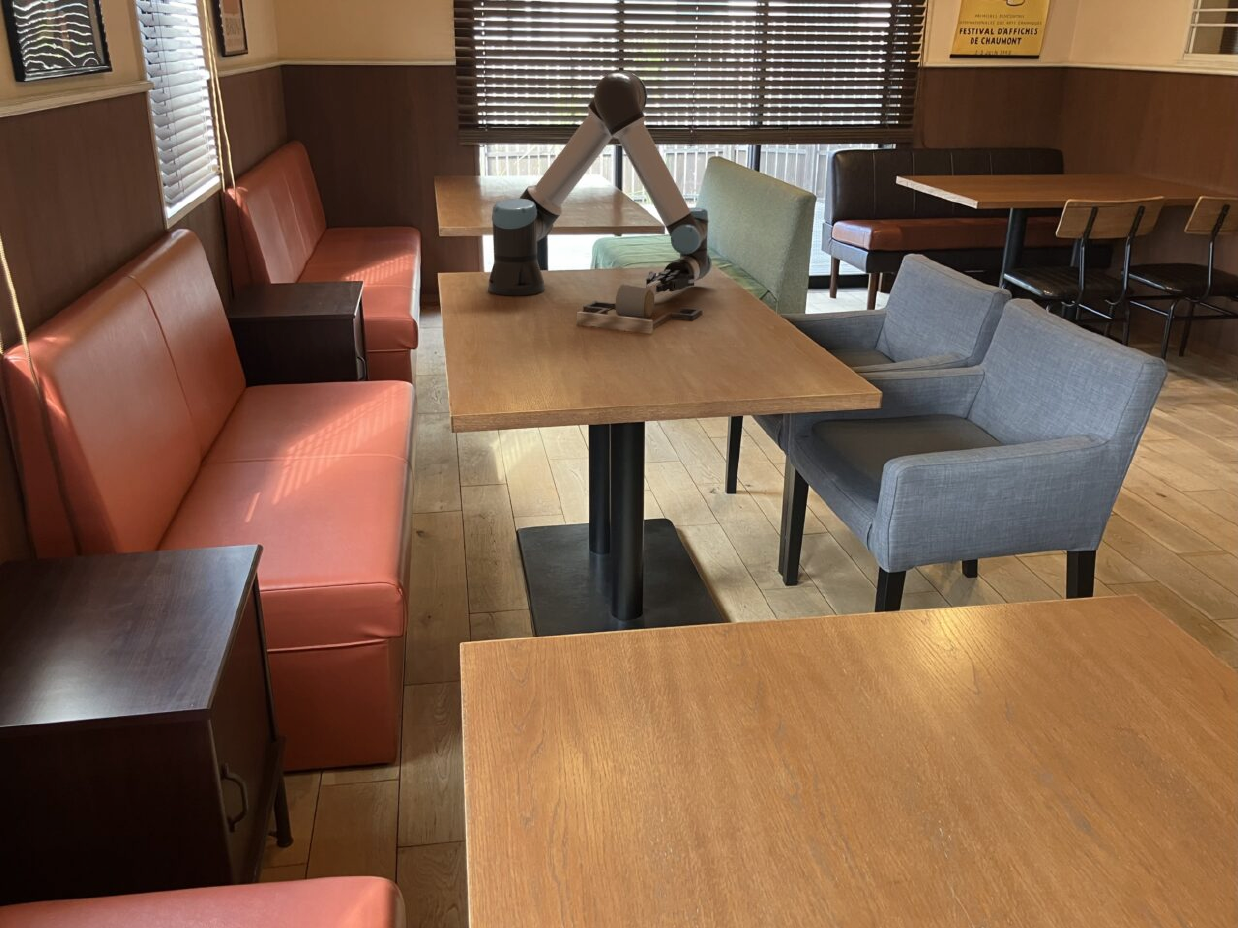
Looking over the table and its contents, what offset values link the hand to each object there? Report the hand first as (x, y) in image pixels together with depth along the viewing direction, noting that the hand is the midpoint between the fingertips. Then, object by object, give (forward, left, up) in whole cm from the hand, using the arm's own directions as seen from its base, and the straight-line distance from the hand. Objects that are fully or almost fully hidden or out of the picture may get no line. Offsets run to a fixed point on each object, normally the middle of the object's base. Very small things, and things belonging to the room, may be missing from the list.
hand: (648, 291), depth 254 cm
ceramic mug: (-2, -3, -6) cm, 7 cm away
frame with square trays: (-2, -6, -6) cm, 8 cm away
